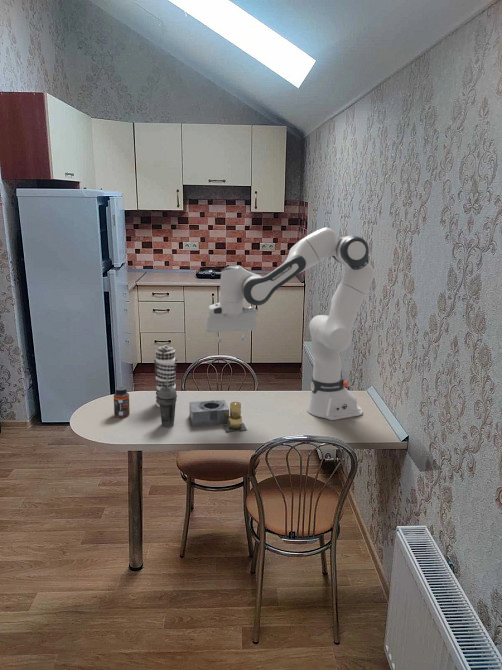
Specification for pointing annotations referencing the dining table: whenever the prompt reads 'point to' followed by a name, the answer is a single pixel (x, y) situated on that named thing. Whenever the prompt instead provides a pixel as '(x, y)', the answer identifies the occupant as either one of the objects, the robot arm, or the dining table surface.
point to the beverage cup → (167, 405)
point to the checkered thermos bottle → (165, 368)
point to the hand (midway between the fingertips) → (230, 341)
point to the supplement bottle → (121, 402)
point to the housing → (209, 413)
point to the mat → (234, 430)
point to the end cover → (235, 416)
